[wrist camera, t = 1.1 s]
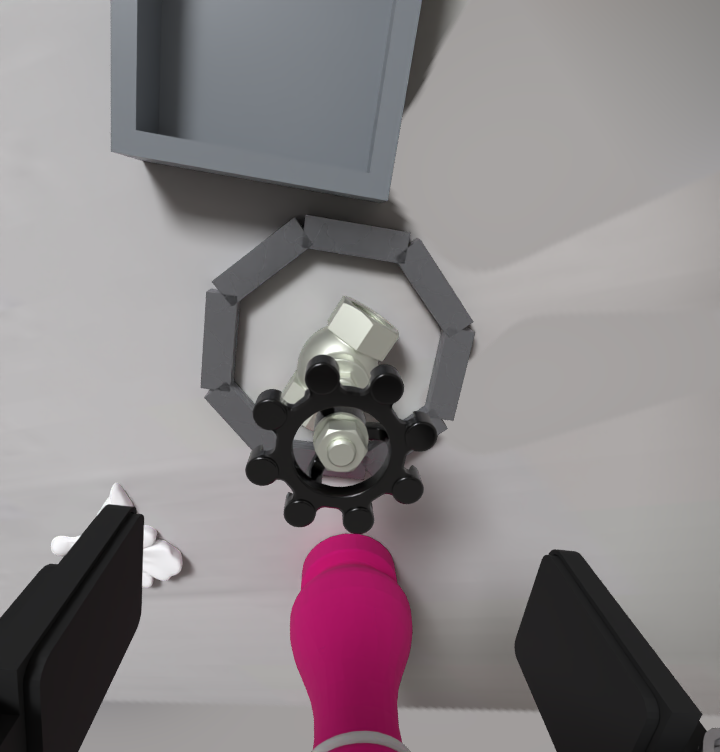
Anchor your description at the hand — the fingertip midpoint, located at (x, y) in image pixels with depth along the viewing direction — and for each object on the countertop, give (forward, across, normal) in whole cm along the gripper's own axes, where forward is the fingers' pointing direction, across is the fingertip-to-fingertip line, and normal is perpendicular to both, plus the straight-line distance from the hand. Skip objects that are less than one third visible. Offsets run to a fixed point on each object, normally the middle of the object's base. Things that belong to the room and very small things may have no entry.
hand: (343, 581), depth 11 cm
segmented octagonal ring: (+17, 0, -1) cm, 17 cm away
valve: (+18, 0, -1) cm, 18 cm away
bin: (+17, +5, -16) cm, 24 cm away
